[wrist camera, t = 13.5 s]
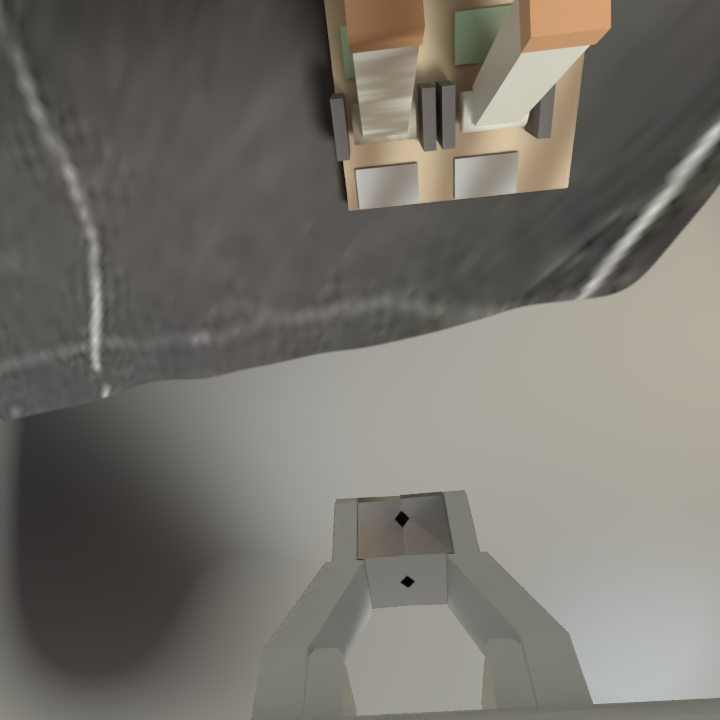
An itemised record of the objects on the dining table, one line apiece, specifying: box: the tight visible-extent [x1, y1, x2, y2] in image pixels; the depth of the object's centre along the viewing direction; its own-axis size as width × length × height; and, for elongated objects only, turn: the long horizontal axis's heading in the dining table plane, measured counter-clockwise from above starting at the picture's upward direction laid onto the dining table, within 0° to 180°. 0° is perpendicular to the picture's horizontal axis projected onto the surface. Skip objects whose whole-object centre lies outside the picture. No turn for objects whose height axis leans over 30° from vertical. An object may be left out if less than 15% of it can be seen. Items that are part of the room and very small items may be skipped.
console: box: [324, 0, 585, 211], centre depth 28 cm, size 16×14×16 cm
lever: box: [458, 0, 611, 133], centre depth 26 cm, size 4×3×15 cm, turn 96°
